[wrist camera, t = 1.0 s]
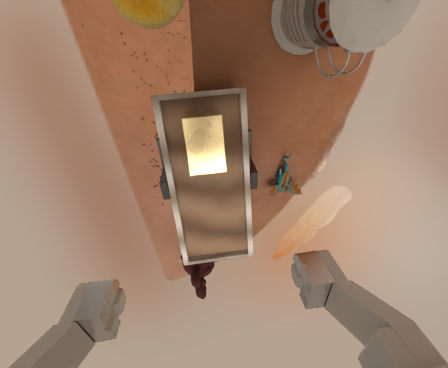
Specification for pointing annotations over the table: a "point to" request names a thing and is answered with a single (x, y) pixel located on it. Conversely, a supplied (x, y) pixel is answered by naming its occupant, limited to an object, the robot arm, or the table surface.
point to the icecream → (199, 276)
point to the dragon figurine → (284, 182)
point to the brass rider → (204, 143)
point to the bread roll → (149, 11)
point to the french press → (338, 25)
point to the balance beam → (208, 177)
